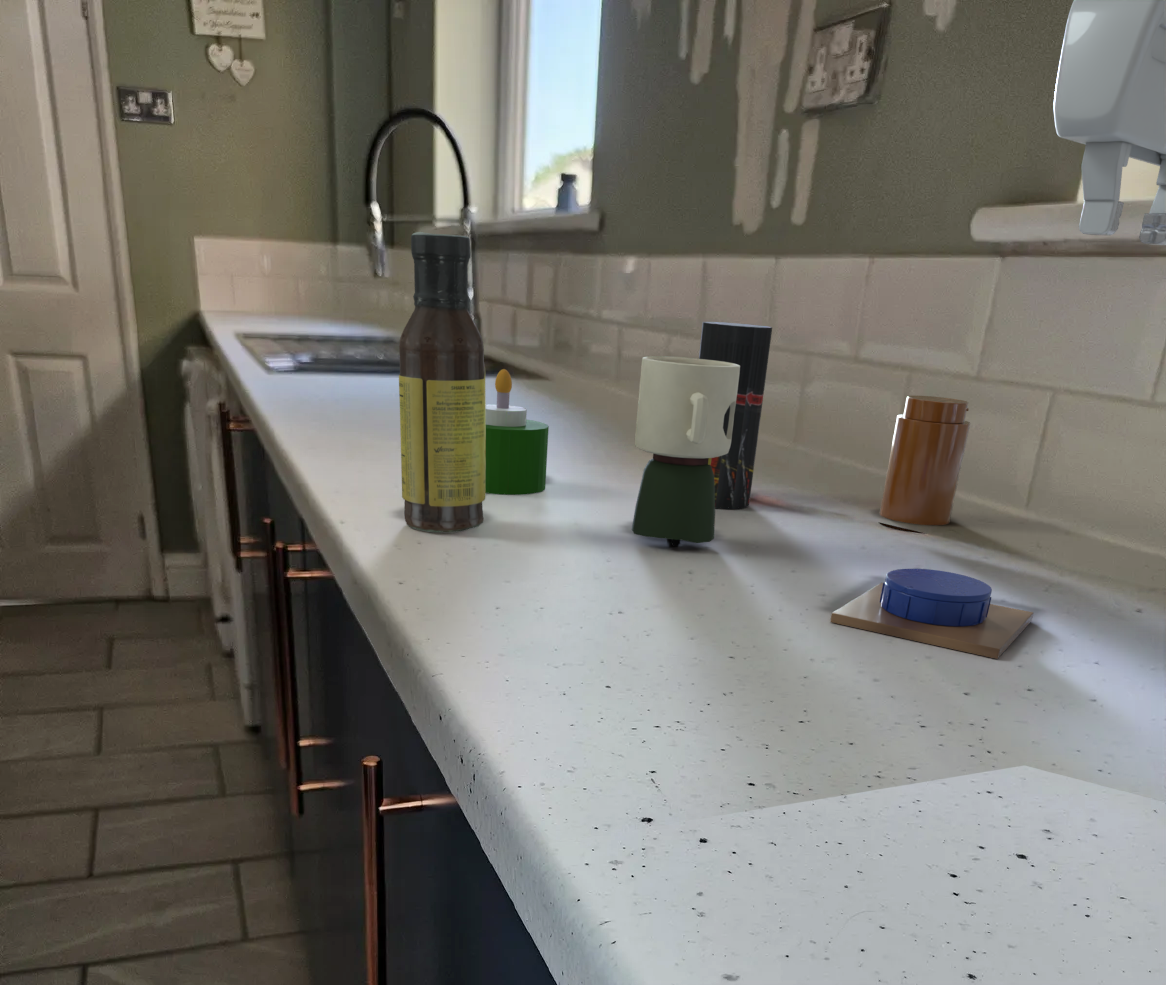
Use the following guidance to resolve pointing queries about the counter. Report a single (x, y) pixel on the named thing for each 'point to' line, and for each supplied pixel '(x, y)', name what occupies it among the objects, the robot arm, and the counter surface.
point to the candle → (513, 446)
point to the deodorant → (739, 404)
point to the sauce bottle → (442, 392)
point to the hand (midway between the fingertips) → (1127, 239)
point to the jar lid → (935, 597)
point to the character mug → (682, 444)
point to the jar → (925, 461)
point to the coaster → (936, 626)
